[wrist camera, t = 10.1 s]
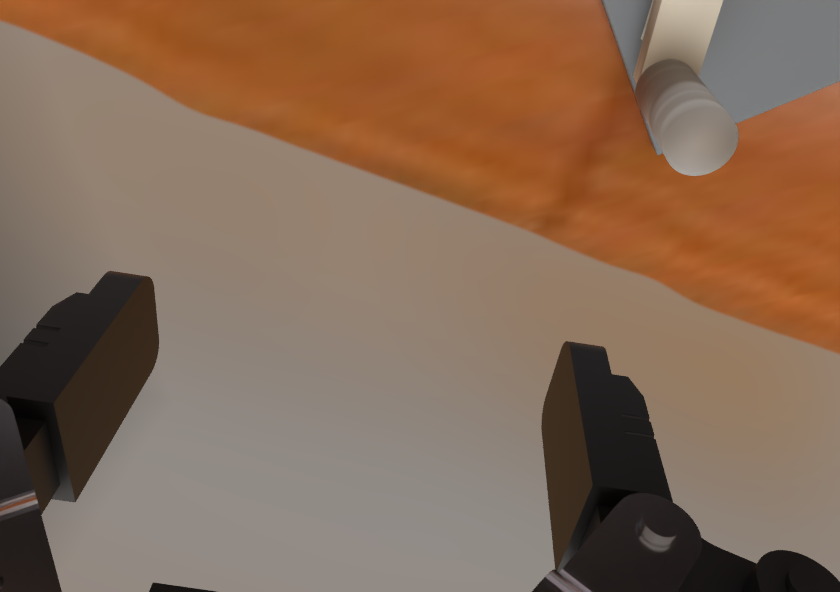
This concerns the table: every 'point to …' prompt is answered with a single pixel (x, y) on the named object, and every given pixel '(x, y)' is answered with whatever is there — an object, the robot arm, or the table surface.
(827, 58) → the board
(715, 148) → the lever
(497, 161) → the table surface
